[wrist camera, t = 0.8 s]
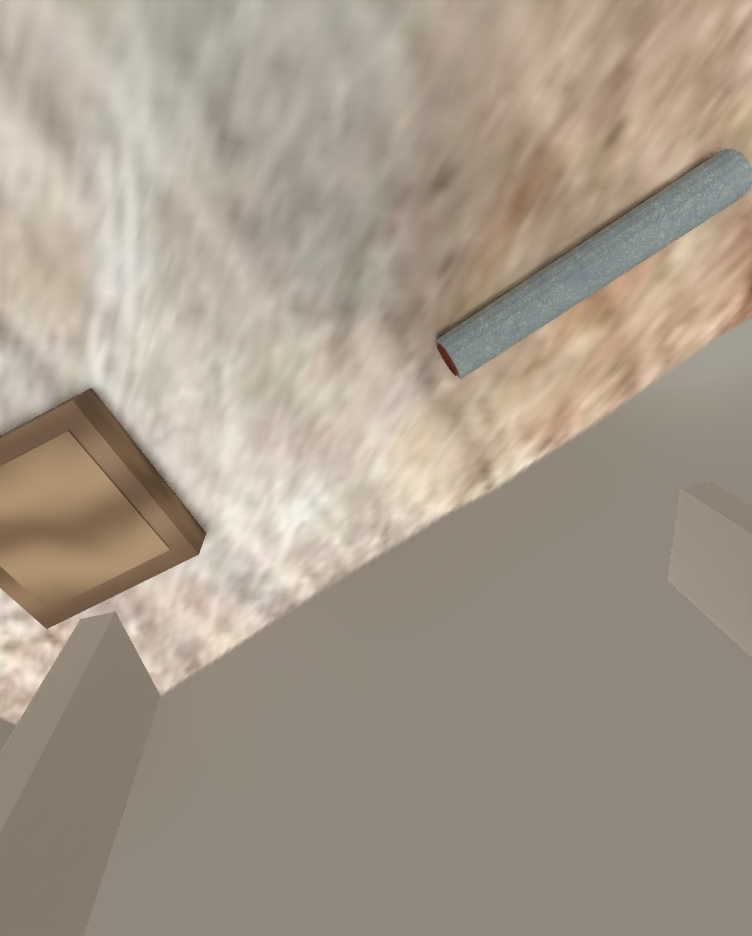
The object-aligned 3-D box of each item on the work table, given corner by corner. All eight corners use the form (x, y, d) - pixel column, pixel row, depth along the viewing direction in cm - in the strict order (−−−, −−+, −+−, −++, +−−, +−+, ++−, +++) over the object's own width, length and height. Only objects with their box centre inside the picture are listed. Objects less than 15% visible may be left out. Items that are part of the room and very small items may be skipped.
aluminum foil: (708, 151, 33) (749, 142, 30) (728, 241, 36) (768, 241, 33) (429, 336, 36) (441, 345, 33) (469, 406, 39) (483, 420, 36)
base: (-73, 475, 35) (-107, 495, 32) (91, 388, 34) (71, 401, 31) (63, 603, 41) (45, 630, 38) (206, 533, 40) (198, 555, 37)
